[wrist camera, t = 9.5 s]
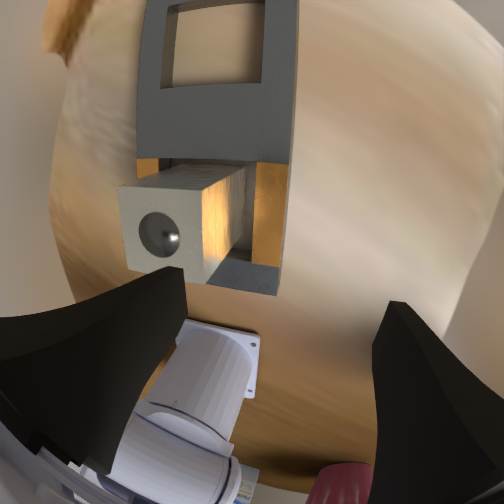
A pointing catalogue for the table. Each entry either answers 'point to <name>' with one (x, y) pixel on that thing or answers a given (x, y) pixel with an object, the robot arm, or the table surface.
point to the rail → (226, 127)
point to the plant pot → (342, 484)
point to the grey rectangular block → (183, 218)
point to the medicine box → (246, 484)
